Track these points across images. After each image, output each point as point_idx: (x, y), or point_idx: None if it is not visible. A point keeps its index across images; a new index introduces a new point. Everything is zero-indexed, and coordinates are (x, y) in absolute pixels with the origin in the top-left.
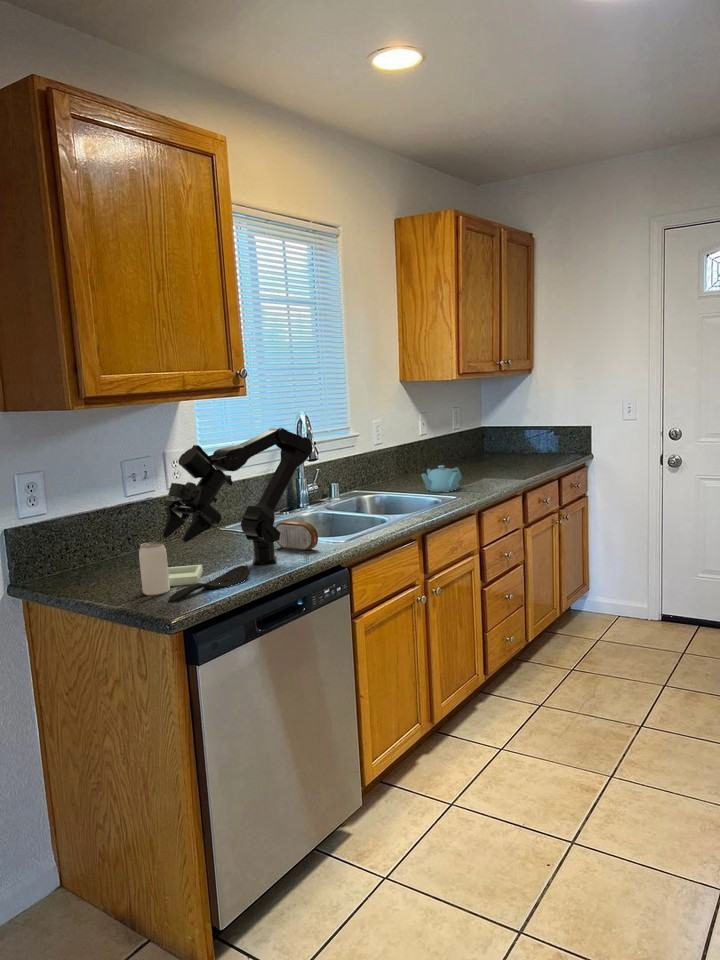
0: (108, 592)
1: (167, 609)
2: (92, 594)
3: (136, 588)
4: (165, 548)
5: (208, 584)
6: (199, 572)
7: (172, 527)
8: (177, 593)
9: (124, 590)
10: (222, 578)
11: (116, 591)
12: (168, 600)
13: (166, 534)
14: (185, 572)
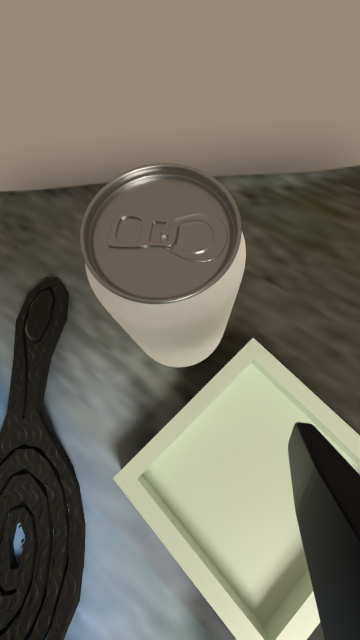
0: (324, 250)
1: (12, 240)
2: (347, 217)
3: (285, 320)
4: (111, 309)
5: (35, 453)
6: (175, 554)
7: (346, 618)
8: (50, 309)
9: (299, 287)
10: (50, 566)
11: (312, 268)
12: (55, 277)
13: (298, 465)
14: (296, 566)
